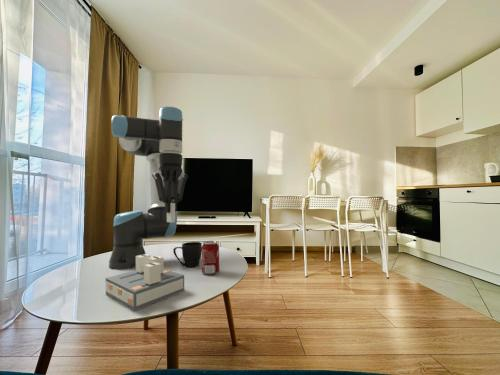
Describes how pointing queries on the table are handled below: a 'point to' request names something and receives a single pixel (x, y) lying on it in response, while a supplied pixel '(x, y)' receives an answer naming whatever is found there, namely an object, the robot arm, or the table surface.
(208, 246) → the soda can
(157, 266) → the slider near
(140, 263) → the block
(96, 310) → the table surface
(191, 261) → the mug
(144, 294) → the console
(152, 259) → the slider mid
